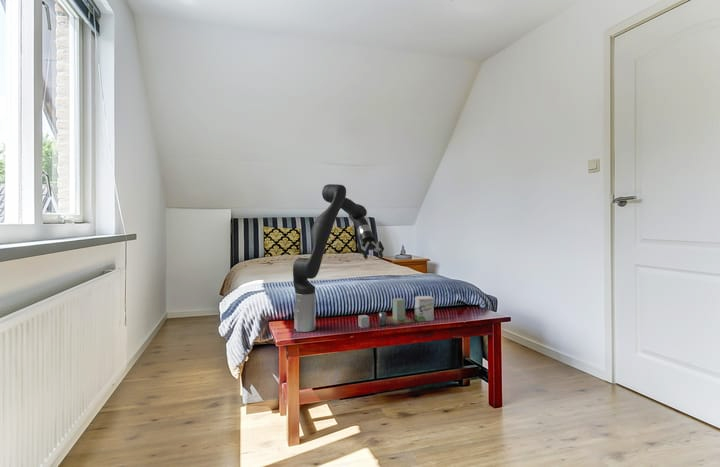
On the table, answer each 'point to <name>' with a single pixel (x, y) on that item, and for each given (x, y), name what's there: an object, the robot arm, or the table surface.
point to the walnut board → (399, 321)
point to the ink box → (424, 308)
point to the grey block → (363, 321)
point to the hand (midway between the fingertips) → (374, 257)
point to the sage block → (399, 309)
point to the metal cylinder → (382, 318)
